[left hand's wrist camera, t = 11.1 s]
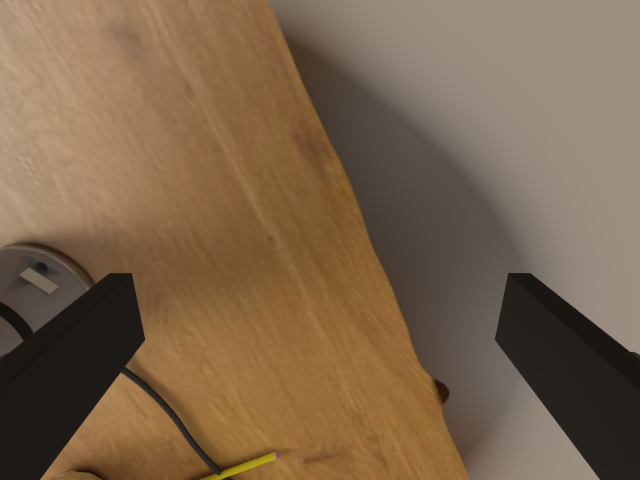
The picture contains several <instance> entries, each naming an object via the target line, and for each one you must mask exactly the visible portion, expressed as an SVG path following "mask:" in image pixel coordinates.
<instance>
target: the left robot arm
mask: <svg viewBox="0 0 640 480" xmlns="http://www.w3.org/2000/svg"><path fill="white" fill-rule="evenodd" d="M144 341H145V337H144V332H143V327H142V322H141V317H140V312H139V307H138V302H137V297H136V292H135V287H134V283H133V278H132V273H109V274H108V275H107V276H105V277H104V278H103V279H102V280H100V281H99V282H98V283H97V284H94V282H93V281H92V279H91V278H90V276H89V275H88V274H87V273H86V272H85V271H84V270H83V269H82V268H81V267H80V266H79V265H78V264H77V263H75V262H74V261H73V260H71V259H70V258H68V257H67V256H65V255H63V254H61V253H60V252H57V251H55V250H53V249H50V248H47V247H44V246H40V245H34V244H14V245H9V246H5V247H3V248H0V480H40V479H41V478H42V476H43V475H44V474H45V472H46V471H47V470H48V468H49V467H50V466H51V464H52V463H53V462H54V460H55V459H56V458H57V456H58V455H59V454H60V452H61V451H62V450H63V448H64V447H65V446H66V444H67V443H68V442H69V440H70V439H71V438H72V436H73V435H74V434H75V432H76V431H77V430H78V428H79V427H80V426H81V424H82V423H83V422H84V420H85V419H86V418H87V416H88V415H89V414H90V412H91V411H92V410H93V408H94V407H95V406H96V404H97V403H98V402H99V400H100V399H101V398H102V396H103V395H104V394H105V392H106V391H107V390H108V388H109V387H110V386H111V384H112V383H113V382H114V380H115V379H116V378H117V376H118V375H119V374H120V372H121V373H122V374H124V375H125V376H127V377H128V378H129V379H131V380H132V381H133V382H135V383H136V384H137V385H138V386H140V387H141V388H142V389H143V390H144V391H146V392H147V393H148V394H149V395H150V396H151V397H152V398H153V399H154V400H155V401H156V402H157V403H158V404H159V405H160V406H161V407H162V408H163V409H164V410H165V412H166V413H167V414H168V415H169V416H170V417H171V419H172V420H173V421H174V423H175V424H176V425H177V427H178V428H179V430H180V431H181V433H182V434H183V436H184V437H185V439H186V440H187V441H188V443H189V444H190V445H191V447H192V448H193V449H194V450H195V451H196V453H197V454H198V455H199V456H200V457H201V458H202V460H203V461H204V462H205V463H206V464H207V465H208V466H209V467H210V468H211V469H212V470H213V471H214V472H215V473H216V474H217V475H218V476H219V475H220V474H221V472H222V471H221V470H220V469H219V468H218V467H217V466H216V465H215V464H214V463H213V462H212V461H211V459H210V458H209V457H208V456H207V455H206V454H205V453H204V451H203V450H202V449H201V448H200V447H199V446H198V444H197V443H196V442H195V441H194V439H193V438H192V437H191V435H190V434H189V432H188V431H187V429H186V428H185V426H184V425H183V423H182V422H181V420H180V419H179V418H178V416H177V415H176V414H175V412H174V411H173V410H172V409H171V408H170V406H169V405H168V404H167V403H166V402H165V401H164V400H163V399H162V398H161V397H160V396H159V395H158V394H157V393H156V392H155V391H154V390H153V389H152V388H151V387H150V386H149V385H148V384H146V383H145V382H144V381H143V380H142V379H140V378H139V377H138V376H137V375H135V374H134V373H133V372H131V371H130V370H128V369H127V368H125V366H126V364H127V363H128V362H129V360H130V359H131V358H132V356H133V355H134V354H135V353H136V351H137V350H138V349H139V347H140V346H141V345H142V343H143V342H144ZM495 341H496V342H497V343H498V345H499V346H500V347H501V349H502V350H503V351H504V353H505V354H506V355H507V356H508V358H509V359H510V360H511V362H512V363H513V364H514V366H515V367H516V368H517V370H518V371H519V372H520V374H521V375H522V376H523V378H524V379H525V380H526V382H527V383H528V384H529V386H530V387H531V388H532V390H533V391H534V392H535V394H536V395H537V396H538V398H539V399H540V400H541V402H542V403H543V404H544V406H545V407H546V408H547V410H548V411H549V412H550V414H551V415H552V416H553V418H554V419H555V420H556V422H557V423H558V424H559V426H560V427H561V428H562V430H563V431H564V432H565V434H566V435H567V436H568V438H569V439H570V440H571V442H572V443H573V444H574V446H575V447H576V448H577V450H578V451H579V452H580V453H581V455H582V456H583V458H584V459H585V460H586V462H587V463H588V464H589V466H590V467H591V468H592V470H593V471H594V472H595V474H596V475H597V476H598V477H599V479H600V480H640V355H639V354H637V353H635V352H629V351H628V350H627V349H626V348H624V347H623V346H622V345H621V344H619V343H618V342H617V341H616V340H614V339H613V338H612V337H611V336H609V335H608V334H607V333H605V332H604V331H603V330H602V329H600V328H599V327H598V326H597V325H595V324H594V323H593V322H592V321H590V320H589V319H588V318H586V317H585V316H584V315H583V314H581V313H580V312H579V311H578V310H576V309H575V308H574V307H573V306H571V305H570V304H569V303H567V302H566V301H565V300H564V299H562V298H561V297H560V296H559V295H557V294H556V293H555V292H553V291H552V290H551V289H550V288H548V287H547V286H546V285H545V284H543V283H542V282H541V281H540V280H538V279H537V278H536V277H534V276H533V275H532V274H531V273H508V278H507V283H506V287H505V292H504V297H503V302H502V307H501V312H500V317H499V322H498V327H497V332H496V337H495ZM222 480H231V479H230V478H229V477H225V478H223V479H222Z"/></svg>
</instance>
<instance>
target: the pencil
mask: <svg viewBox="0 0 640 480" xmlns="http://www.w3.org/2000/svg"><path fill="white" fill-rule="evenodd" d="M278 458H279V453H278V452H277V451H276V452H273V453H270V454H267V455H265V456H262V457H259V458H256V459H254V460H251V461H248V462H246V463H243V464H240V465H237V466H235V467H232V468H229V469H226V470H224V471H222V472H221V474H220V475H219V476H218V475H217V474H213V475H210V476H207V477H205V478H202V479H199V480H220V479H223V478H225V477H228V476H231V475H234V474H237V473H239V472H242V471H245V470H248V469H250V468H253V467H256V466H259V465H261V464H264V463H267V462H270V461H272V460H275V459H278Z"/></svg>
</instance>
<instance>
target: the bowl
mask: <svg viewBox="0 0 640 480" xmlns="http://www.w3.org/2000/svg"><path fill="white" fill-rule="evenodd" d="M45 480H102V479H101V478H98V477H97V476H95V475H93V474H91V473H85V472H75V471H68V472H63V473H60V474H57V475H54V476H51V477H49V478H47V479H45Z"/></svg>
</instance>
